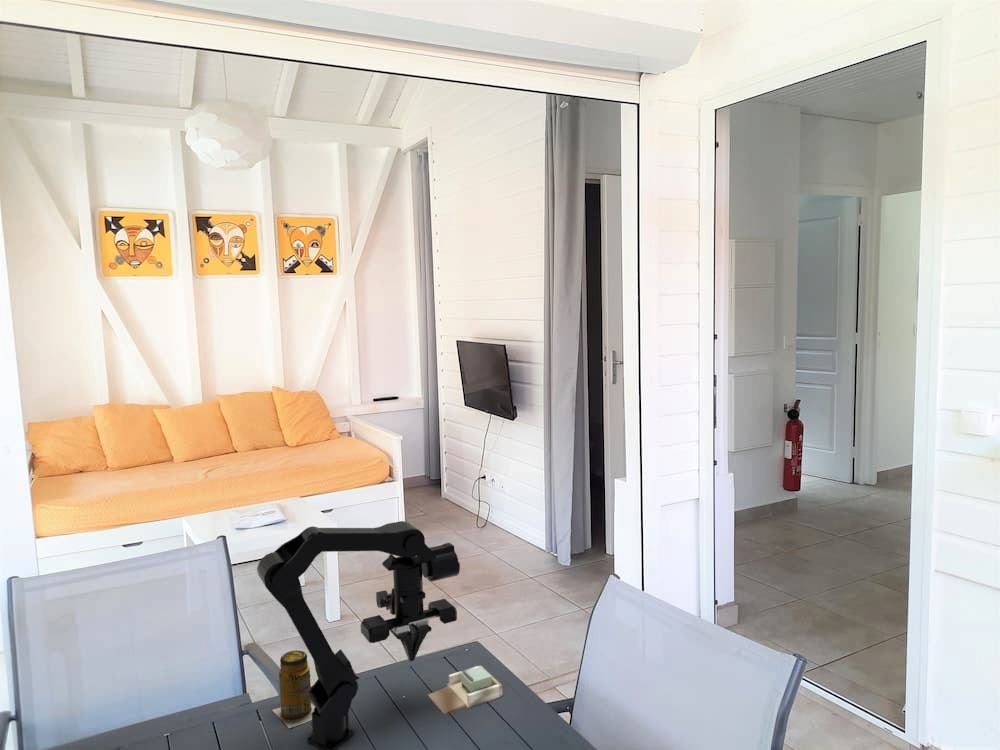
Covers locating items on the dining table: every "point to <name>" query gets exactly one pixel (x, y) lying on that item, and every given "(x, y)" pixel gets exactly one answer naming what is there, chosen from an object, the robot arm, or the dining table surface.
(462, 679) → the pale green pegged cube
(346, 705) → the robot arm
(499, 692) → the dock
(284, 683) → the condiment
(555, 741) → the dining table surface
